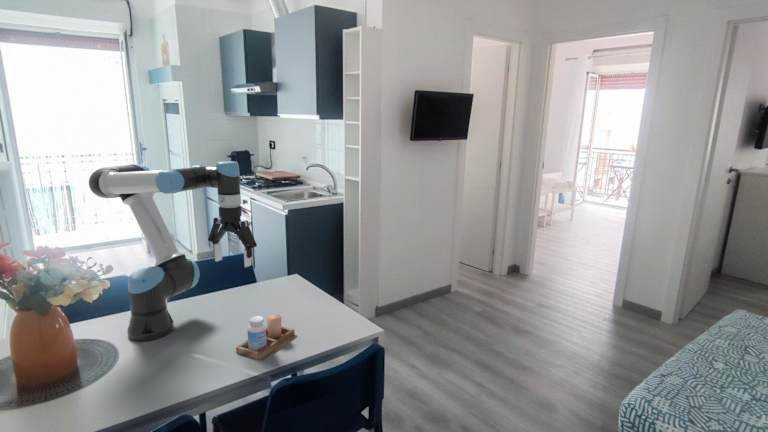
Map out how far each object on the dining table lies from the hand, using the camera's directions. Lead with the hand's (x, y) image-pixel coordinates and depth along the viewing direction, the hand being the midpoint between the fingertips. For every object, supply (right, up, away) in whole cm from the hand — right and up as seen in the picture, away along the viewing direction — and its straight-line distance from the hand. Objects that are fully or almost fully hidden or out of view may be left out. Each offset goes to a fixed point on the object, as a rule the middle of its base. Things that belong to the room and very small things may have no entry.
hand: (233, 263), depth 157 cm
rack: (+13, -29, -4) cm, 32 cm away
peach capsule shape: (+15, -27, -1) cm, 31 cm away
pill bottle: (+11, -29, -9) cm, 32 cm away
